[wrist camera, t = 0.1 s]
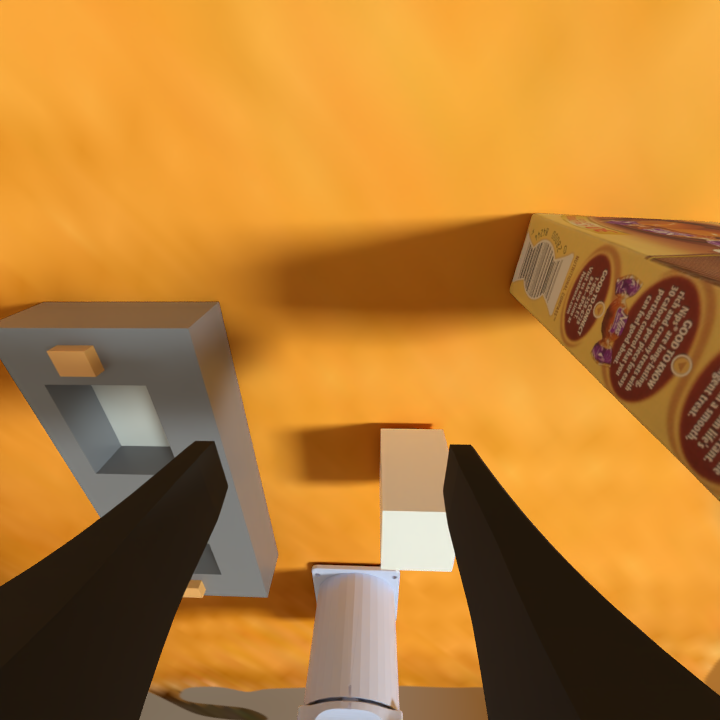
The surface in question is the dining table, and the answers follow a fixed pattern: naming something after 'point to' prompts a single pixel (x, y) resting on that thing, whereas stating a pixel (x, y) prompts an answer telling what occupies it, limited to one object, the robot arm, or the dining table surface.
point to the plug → (414, 501)
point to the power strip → (146, 414)
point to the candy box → (637, 319)
